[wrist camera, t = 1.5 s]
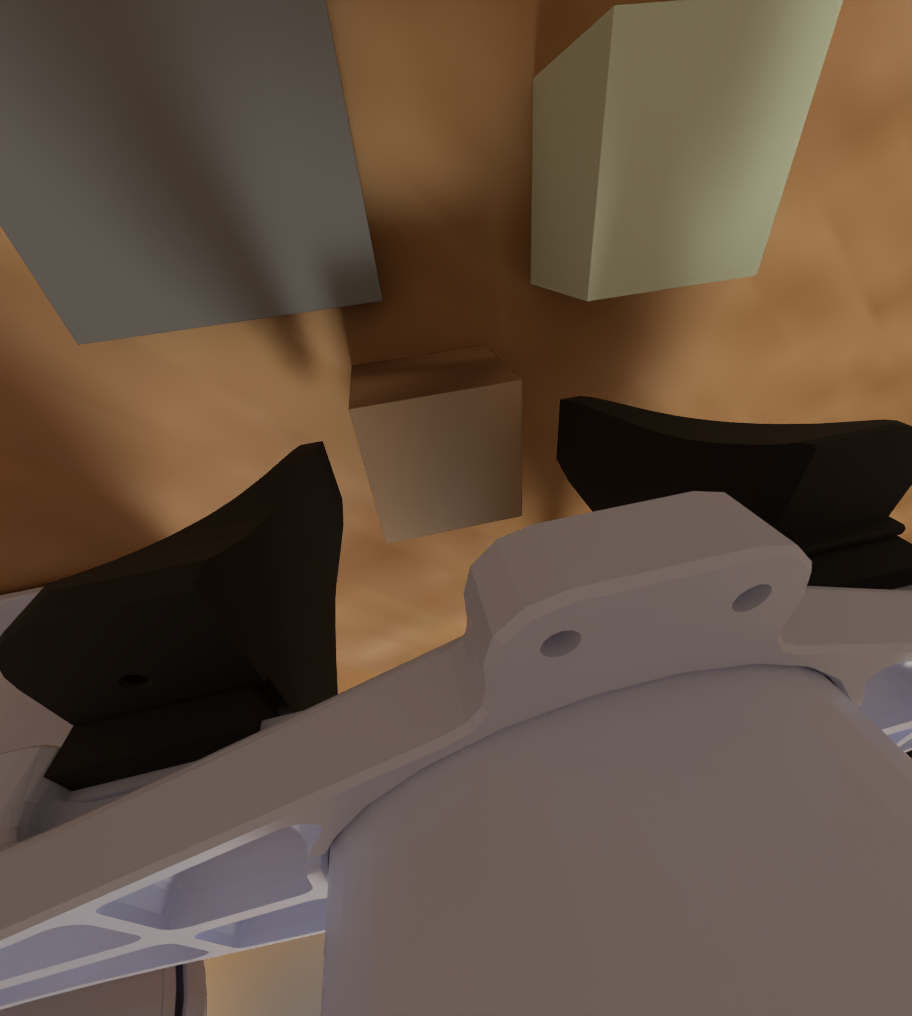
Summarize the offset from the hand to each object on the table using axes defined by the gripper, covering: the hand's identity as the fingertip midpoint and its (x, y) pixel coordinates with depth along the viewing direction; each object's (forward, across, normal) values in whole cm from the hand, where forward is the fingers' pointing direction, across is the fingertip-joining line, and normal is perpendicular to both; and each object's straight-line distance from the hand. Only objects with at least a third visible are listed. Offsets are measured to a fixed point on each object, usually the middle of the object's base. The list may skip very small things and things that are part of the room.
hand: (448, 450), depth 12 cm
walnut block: (+3, 0, 0) cm, 3 cm away
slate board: (+3, +5, -8) cm, 10 cm away
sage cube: (+3, -6, -6) cm, 9 cm away
